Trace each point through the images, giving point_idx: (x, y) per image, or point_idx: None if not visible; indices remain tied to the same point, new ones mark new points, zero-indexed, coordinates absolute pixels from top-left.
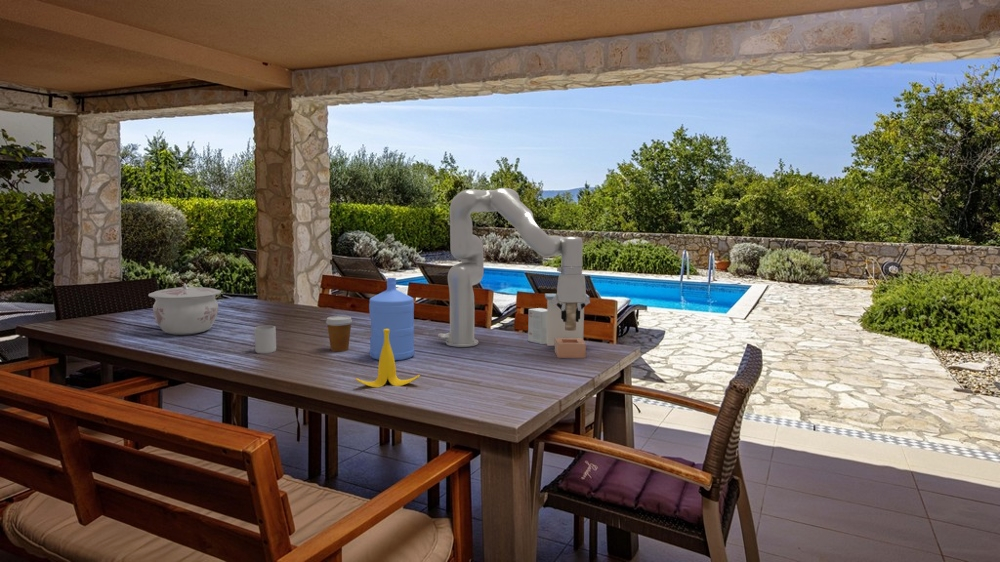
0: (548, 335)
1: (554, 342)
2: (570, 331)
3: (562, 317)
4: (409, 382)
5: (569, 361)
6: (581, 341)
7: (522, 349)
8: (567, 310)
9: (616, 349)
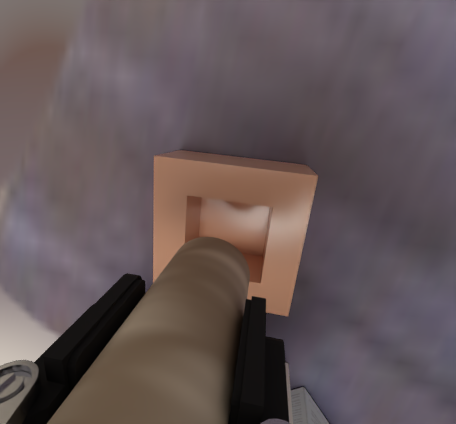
0: None
1: None
2: None
3: (275, 347)
4: None
5: (270, 82)
6: (166, 222)
7: (415, 331)
8: (205, 405)
9: (47, 270)
